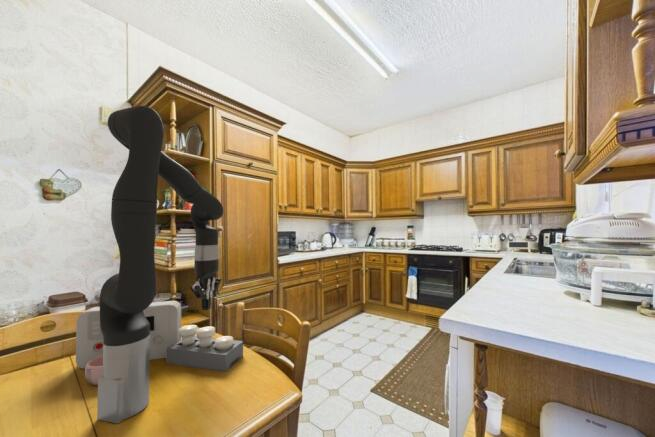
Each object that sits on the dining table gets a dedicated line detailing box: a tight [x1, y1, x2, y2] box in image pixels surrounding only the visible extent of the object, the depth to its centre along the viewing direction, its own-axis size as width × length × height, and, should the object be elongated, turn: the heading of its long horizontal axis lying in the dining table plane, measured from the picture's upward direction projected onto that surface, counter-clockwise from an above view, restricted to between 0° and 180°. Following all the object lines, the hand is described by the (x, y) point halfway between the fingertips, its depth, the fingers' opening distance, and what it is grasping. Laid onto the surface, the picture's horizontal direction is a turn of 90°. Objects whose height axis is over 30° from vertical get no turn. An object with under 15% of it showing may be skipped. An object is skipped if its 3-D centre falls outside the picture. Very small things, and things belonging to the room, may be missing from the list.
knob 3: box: [215, 335, 234, 351], centre depth 87 cm, size 6×6×6 cm
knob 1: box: [179, 324, 198, 346], centre depth 90 cm, size 6×6×6 cm
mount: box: [165, 335, 244, 372], centre depth 88 cm, size 10×22×5 cm, turn 77°
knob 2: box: [196, 326, 216, 348], centre depth 88 cm, size 6×6×6 cm
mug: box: [84, 355, 103, 386], centre depth 78 cm, size 12×10×6 cm
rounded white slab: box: [75, 300, 182, 369], centre depth 88 cm, size 29×8×18 cm, turn 107°
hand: (206, 309), depth 89 cm, fingers closed
